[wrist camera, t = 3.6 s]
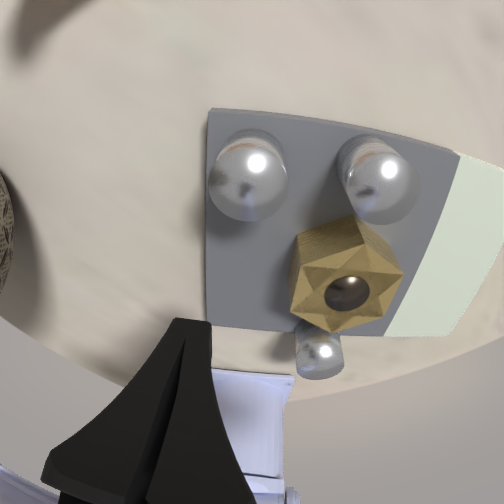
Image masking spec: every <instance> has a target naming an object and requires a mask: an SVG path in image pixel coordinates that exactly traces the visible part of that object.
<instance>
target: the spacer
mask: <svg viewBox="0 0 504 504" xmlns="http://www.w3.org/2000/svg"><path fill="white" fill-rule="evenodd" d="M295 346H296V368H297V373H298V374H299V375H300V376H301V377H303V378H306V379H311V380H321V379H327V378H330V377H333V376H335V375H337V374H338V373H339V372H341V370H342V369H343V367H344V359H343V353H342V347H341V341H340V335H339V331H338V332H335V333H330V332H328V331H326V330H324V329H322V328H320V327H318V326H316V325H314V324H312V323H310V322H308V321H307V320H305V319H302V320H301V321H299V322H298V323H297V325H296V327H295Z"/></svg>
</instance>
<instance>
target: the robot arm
mask: <svg viewBox="0 0 504 504" xmlns="http://www.w3.org/2000/svg"><path fill="white" fill-rule="evenodd" d="M211 358H212V324H211V323H210V322H208V321H199V320H191V319H184V318H174V319H173V320H172V322H171V324H170V326H169V328H168V329H167V331H166V333H165V334H164V336H163V337H162V339H161V340H160V342H159V343H158V345H157V347H156V348H155V349H154V351H153V352H152V354H151V355H150V356H149V358H148V359H147V361H146V362H145V363H144V365H143V366H142V367H141V369H140V370H139V371H138V372H137V374H136V375H135V376H134V377H133V379H132V380H131V381H130V382H129V383H128V385H127V386H126V387H125V388H124V389H123V390H122V392H121V393H120V394H119V395H118V396H117V397H116V398H115V399H114V400H113V401H112V402H111V403H110V404H109V405H108V406H107V407H106V408H105V409H104V410H103V411H102V412H101V413H100V414H98V415H97V416H96V417H95V418H94V419H93V420H92V421H90V422H89V423H88V424H87V425H86V426H84V427H83V428H82V429H81V430H80V431H78V432H77V433H76V434H74V435H73V436H72V437H70V438H69V439H67V440H66V441H64V442H63V443H61V444H60V445H58V446H57V447H55V448H54V449H52V450H51V451H50V453H49V456H48V458H47V460H46V462H45V465H44V469H43V472H42V476H41V481H42V482H43V483H45V484H47V485H49V486H51V487H53V488H55V489H58V490H60V491H61V492H60V496H58V495H56V494H54V493H52V492H50V491H48V490H45V489H43V488H41V487H39V486H37V485H35V484H34V483H32V482H30V481H28V480H26V479H24V478H22V477H20V476H19V475H17V474H15V473H13V472H12V471H10V470H8V469H7V468H5V467H3V466H2V465H1V464H0V504H301V502H300V495H299V493H298V492H297V491H295V490H294V488H293V487H286V492H285V500H284V479H283V409H284V407H285V404H286V402H287V399H288V397H289V394H290V392H291V389H292V387H293V384H294V382H295V379H294V376H292V375H278V374H263V373H251V372H240V371H230V370H221V369H212V368H211Z"/></svg>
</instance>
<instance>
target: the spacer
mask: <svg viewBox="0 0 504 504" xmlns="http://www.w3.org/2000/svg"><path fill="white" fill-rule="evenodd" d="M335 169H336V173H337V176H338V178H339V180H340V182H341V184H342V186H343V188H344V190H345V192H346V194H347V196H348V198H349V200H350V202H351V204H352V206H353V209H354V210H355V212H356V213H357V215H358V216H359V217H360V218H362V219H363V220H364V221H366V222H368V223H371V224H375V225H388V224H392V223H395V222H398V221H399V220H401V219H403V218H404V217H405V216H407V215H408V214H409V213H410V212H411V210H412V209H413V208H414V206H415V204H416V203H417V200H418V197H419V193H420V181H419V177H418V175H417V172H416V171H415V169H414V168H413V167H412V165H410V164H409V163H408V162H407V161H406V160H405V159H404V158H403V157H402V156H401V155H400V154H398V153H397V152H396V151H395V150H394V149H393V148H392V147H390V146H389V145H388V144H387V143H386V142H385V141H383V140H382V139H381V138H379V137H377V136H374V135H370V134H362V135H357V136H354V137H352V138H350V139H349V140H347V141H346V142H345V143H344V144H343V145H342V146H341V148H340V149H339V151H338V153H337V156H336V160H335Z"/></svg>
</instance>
